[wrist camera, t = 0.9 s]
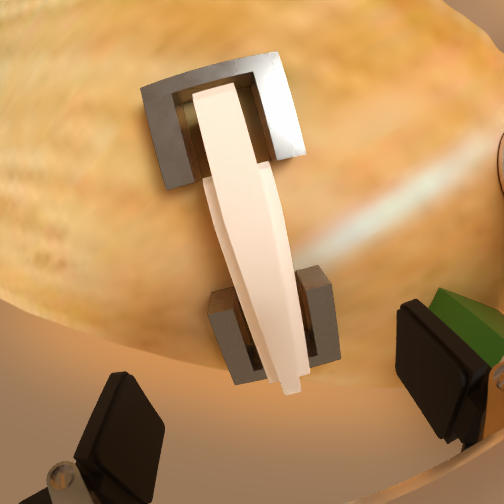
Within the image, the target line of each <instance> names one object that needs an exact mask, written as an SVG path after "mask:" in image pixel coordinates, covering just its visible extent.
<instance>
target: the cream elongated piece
mask: <svg viewBox="0 0 504 504" xmlns="http://www.w3.org/2000/svg"><path fill="white" fill-rule="evenodd" d="M192 96H193V102H194V106H195V110H196V114H197V118H198V122H199V126H200V130H201V134H202V138H203V142H204V146H205V150H206V154H207V158H208V162H209V166H210V170H211V174H212V176H210V177H206V178H203V186H204V190H205V194H206V198H207V202H208V205H209V209H210V213H211V217H212V221H213V224H214V228H215V231H216V234H217V237H218V240H219V243H220V246H221V249H222V252H223V255H224V258H225V261H226V263H227V266H228V269H229V272H230V275H231V278H232V281H233V284H234V287H235V290H236V292H237V295H238V298H239V301H240V304H241V307H242V309H243V312H244V315H245V318H246V321H247V323H248V326H249V329H250V332H251V334H252V337H253V340H254V343H255V345H256V348H257V351H258V354H259V356H260V359H261V362H262V364H263V367H264V370H265V373H266V375H267V378H268V380H269V383H270V384H271V383H275V382H279V381H280V383H281V386H282V389H283V392H284V394H285V396H286V395H290V394H294V393H298V392H301V384H300V378H299V376H303V375H307V374H310V367H309V360H308V354H307V347H306V341H305V334H304V328H303V322H302V316H301V310H300V304H299V298H298V292H297V286H296V280H295V275H294V269H293V264H292V258H291V253H290V247H289V242H288V237H287V232H286V226H285V221H284V216H283V211H282V207H281V203H280V199H279V196H278V192H277V188H276V184H275V181H274V177H273V173H272V170H271V167H270V164H269V162H268V161H266V162H262V163H258V164H257V162H256V158H255V155H254V151H253V147H252V144H251V140H250V137H249V133H248V130H247V126H246V123H245V119H244V116H243V112H242V109H241V106H240V102H239V99H238V95H237V92H236V89H235V86H234V83H230V84H226V85H222V86H219V87H215V88H211V89H208V90H204V91H201V92H197V93H194V94H192Z"/></svg>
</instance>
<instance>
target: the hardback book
mask: <svg viewBox="0 0 504 504" xmlns="http://www.w3.org/2000/svg"><path fill="white" fill-rule="evenodd" d="M429 310H431V311H432V312H433V313H434V314H435V315H436V316H437V317H438V318H440V319H441V320H442V321H443V322H444V323H445V324H446V325H447V326H448V327H449V328H451V329H452V330H453V331H454V332H455V333H456V334H457V335H458V336H459V337H460V338H461V339H462V340H464V341H465V342H466V343H467V344H468V345H469V346H470V347H471V348H472V349H473V350H474V351H475V352H476V353H477V354H478V355H479V356H480V357H481V358H482V359H483V360H484V361H485V362H486V363H487V364H488V365H489V366H490V367H491V368H493V367H494V366H495V365H496V364H498V363H500V362H503V361H504V315H503V314H502V313H500V312H499V311H498V310H496V309H493V308H491V307H488V306H486V305H483V304H481V303H478V302H476V301H473V300H471V299H468V298H466V297H463V296H460V295H458V294H455V293H453V292H450V291H448V290H445V289H442V288H440V287H439V289H438V291H437V293H436V295H435V297H434V299H433V301H432V303H431V305H430V307H429Z"/></svg>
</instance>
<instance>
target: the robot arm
mask: <svg viewBox="0 0 504 504" xmlns="http://www.w3.org/2000/svg"><path fill="white" fill-rule="evenodd" d="M498 165H499V176H500V182H501V186H502V189H503V192H504V135H503V138H502V141H501V144H500V149H499V162H498ZM395 369H396V373H397V375H398V377H399V378H400V380H401V381H402V383H403V384H404V386H405V387H406V389H407V390H408V391H409V393H410V395H411V396H412V398H413V399H414V401H415V402H416V404H417V405H418V407H419V408H420V410H421V411H422V413H423V414H424V416H425V418H426V419H427V421H428V422H429V424H430V425H431V427H432V428H433V430H434V432H435V433H436V435H437V436H438V438H440V439H443V438H444V440H445V441H446V442H447V444H449V443H450V442H452V441H454V440H456V439H457V438H459V440H460V441H461V443H463V444H462V448H461V453H459V454H458V455H456V456H454V457H452V458H450V459H449V460H447V461H445V462H443V463H441V464H439V465H438V466H435V467H433V468H432V469H429V470H427V471H426V472H423V473H421V474H419V475H417V476H415V477H413V478H411V479H409V480H406V481H404V482H402V483H399V484H397V485H395V486H392V487H390V488H387V489H385V490H382V491H379V492H377V493H374V494H371V495H369V496H366V497H363V498H360V499H357V500H354V501H351V502H347V503H344V504H504V361H503V362H500V363H498V364H496V365H495V366H494V367H493V368H491V367H490V366H489V365H488V364H487V363H486V362H485V361H484V360H483V359H482V358H481V357H480V356H479V355H478V354H477V353H476V352H475V351H474V350H473V349H472V348H471V347H470V346H469V345H468V344H467V343H466V342H465V341H464V340H462V339H461V338H460V337H459V336H458V335H457V334H456V333H455V332H454V331H453V330H452V329H451V328H449V327H448V326H447V325H446V324H445V323H444V322H443V321H442V320H441V319H440V318H438V317H437V316H436V315H435V314H434V313H433V312H432V311H431V310H429V309H428V308H427V307H426V306H425V305H424V304H423V303H421V302H420V301H419V300H418V299H413V300H411V301H408V302H405V303H403V304H401V306H400V309H399V310H397V336H396V363H395ZM164 433H165V426H164V423H163V421H162V420H161V418H160V417H159V415H158V414H157V412H156V411H155V409H154V408H153V406H152V405H151V403H150V402H149V400H148V399H147V397H146V396H145V394H144V392H143V391H142V389H141V388H140V386H139V384H138V383H137V381H136V379H135V378H134V376H132V375H130V374H129V373H127V372H116V373H111V375H110V376H109V378H108V380H107V382H106V385H105V387H104V389H103V391H102V393H101V395H100V397H99V399H98V401H97V404H96V406H95V408H94V410H93V412H92V415H91V417H90V419H89V421H88V424H87V426H86V428H85V430H84V433H83V435H82V437H81V440H80V442H79V444H78V447H77V449H76V452H75V454H74V459H75V460H76V463H75V464H74V463H72V462H69V461H62V462H59V463H57V464H56V465H54V466H53V467H52V468H51V469H50V471H49V472H48V474H47V480H46V481H47V487H46V488H45V489H43V490H41V491H39V492H37V493H36V494H34V495H32V496H30V497H28V498H27V499H25V500H23V501H21V502H20V503H19V504H148V503H151V502H152V499H153V493H154V487H155V481H156V475H157V470H158V464H159V459H160V454H161V448H162V443H163V438H164Z"/></svg>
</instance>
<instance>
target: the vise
mask: <svg viewBox="0 0 504 504" xmlns="http://www.w3.org/2000/svg"><path fill="white" fill-rule="evenodd" d="M230 83H234V86H235V89H237V88H242V87H246V86H251V88H252V92H253V96H254V99H255V103H256V106H257V110H258V114H259V118H260V121H261V125H262V129H263V133H264V136H265V140H266V144H267V148H268V152H269V156H270V160H282V159H286V158H291V157H295V156H300V155H305V154H306V151H305V147H304V143H303V139H302V135H301V131H300V127H299V123H298V119H297V116H296V112H295V108H294V105H293V101H292V97H291V94H290V90H289V87H288V83H287V80H286V76H285V73H284V70H283V67H282V63H281V60H280V57H279V54H278V51H276V52H269V53H264V54H258V55H253V56H248V57H243V58H238V59H234V60H230V61H225V62H221V63H217V64H213V65H209V66H206V67H202V68H199V69H195V70H192V71H188V72H185V73H182V74H179V75H176V76H172V77H169V78H166V79H164V80H161V81H158V82H155V83H152V84H150V85H147V86H144V87H142V88H140V90H141V94H142V99H143V103H144V107H145V111H146V116H147V120H148V124H149V128H150V132H151V136H152V140H153V143H154V147H155V151H156V155H157V158H158V162H159V166H160V169H161V173H162V177H163V180H164V184H165V187H166V191H167V190H170V189H173V188H177V187H180V186H183V185H186V184H190V183H193V182H196V181H198V180H200V179H202V177H201V174H200V170H199V166H198V163H197V159H196V155H195V152H194V148H193V144H192V140H191V137H190V133H189V129H188V125H187V121H186V118H185V114H184V110H183V106H182V104H183V103H186V102H189V101H193V96H192V94H194V93H197V92H201V91H204V90H208V89H211V88H215V87H219V86H222V85H226V84H230ZM296 272H297V277H298V282H299V287H300V292H301V297H302V302H303V307H304V312H305V317H306V322H307V327H308V331H305V332H304V334H305V341H306V347H307V354H308V360H309V367H310V368H312V367H315V366H319V365H322V364H326V363H329V362H333V361H336V360H339V359H341V353H340V344H339V336H338V327H337V320H336V312H335V305H334V298H333V291H332V284H331V282H330V281H329V280H328V278H327V277H326V275H325V274H324V273H323V271H322V270H321V268H320V267H319V266H318V265H317V266H313V267H310V268H306V269H302V270H298V271H296ZM207 315H208V318H209V320H210V323H211V326H212V328H213V331H214V334H215V336H216V339H217V342H218V344H219V347H220V349H221V352H222V354H223V357H224V359H225V362H226V364H227V367H228V369H229V372H230V374H231V377H232V379H233V382H234V384H235V385H239V384H244V383H249V382H254V381H258V380H263V379H267V375H266V373H265V370H264V367H263V364H262V362H261V359H260V356H259V354H258V351H257V348H256V345H255V344H253V345H251V341H250V338H249V335H248V332H247V329H246V326H245V323H244V319H243V316H242V313H241V310H240V307H239V303H238V300H237V297H236V294H235V290H234V287H231V288H227V289H223V290H219V291H215V292H211V298H210V303H209V309H208V314H207Z"/></svg>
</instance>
